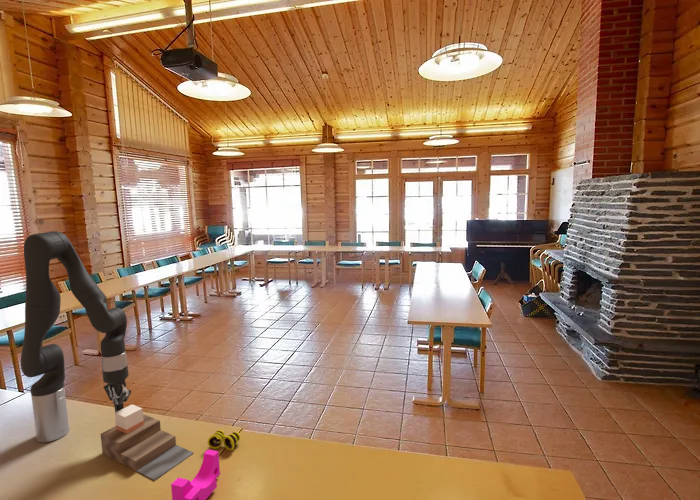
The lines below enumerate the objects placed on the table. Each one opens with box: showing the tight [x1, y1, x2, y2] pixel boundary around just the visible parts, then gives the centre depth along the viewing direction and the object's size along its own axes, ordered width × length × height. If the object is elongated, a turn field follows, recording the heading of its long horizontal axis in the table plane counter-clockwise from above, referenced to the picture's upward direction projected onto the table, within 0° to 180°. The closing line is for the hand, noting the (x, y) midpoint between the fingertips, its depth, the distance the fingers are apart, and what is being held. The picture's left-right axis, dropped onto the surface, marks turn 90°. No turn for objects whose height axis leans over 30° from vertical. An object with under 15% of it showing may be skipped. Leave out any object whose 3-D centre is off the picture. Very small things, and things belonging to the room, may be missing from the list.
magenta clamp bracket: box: [170, 448, 221, 500], centre depth 105 cm, size 15×6×8 cm, turn 162°
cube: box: [114, 404, 144, 434], centre depth 126 cm, size 6×6×6 cm
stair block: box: [100, 413, 195, 482], centre depth 122 cm, size 28×14×7 cm, turn 62°
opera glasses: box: [207, 429, 241, 451], centre depth 126 cm, size 10×5×5 cm, turn 79°
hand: (119, 412), depth 128 cm, fingers closed
